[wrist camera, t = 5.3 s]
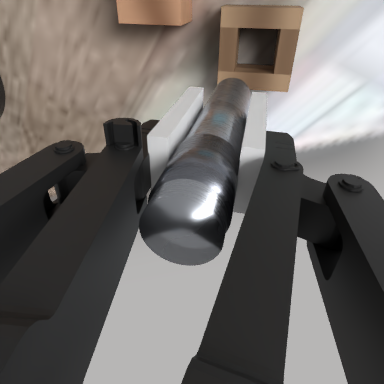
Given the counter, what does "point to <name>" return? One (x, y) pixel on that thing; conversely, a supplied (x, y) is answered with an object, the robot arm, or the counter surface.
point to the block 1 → (154, 12)
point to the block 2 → (284, 52)
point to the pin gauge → (200, 182)
